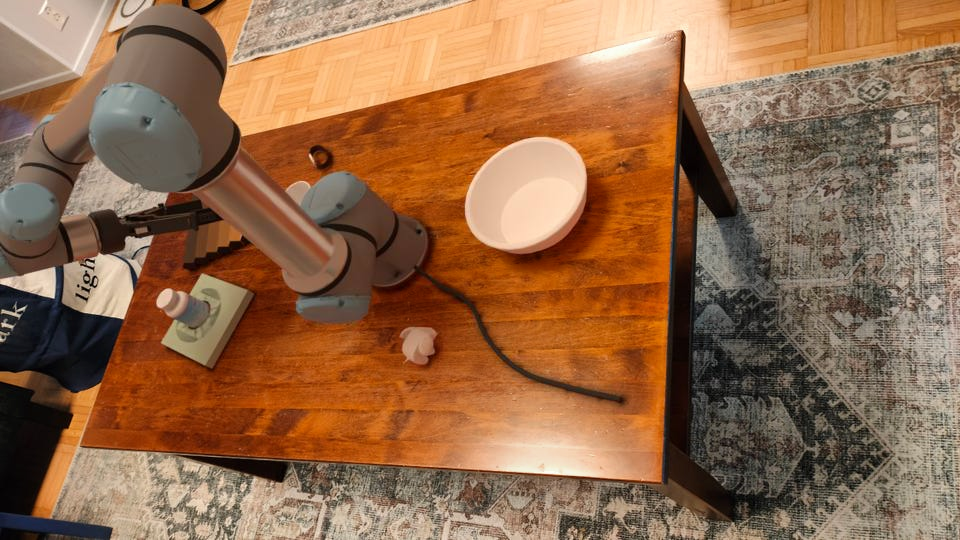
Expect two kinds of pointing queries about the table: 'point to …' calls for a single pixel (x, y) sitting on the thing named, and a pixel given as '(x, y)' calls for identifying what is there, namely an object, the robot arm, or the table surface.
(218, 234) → the pan flute
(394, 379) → the table surface
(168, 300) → the pill bottle
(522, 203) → the bowl
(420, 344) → the elephant figurine
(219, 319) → the mounting pad
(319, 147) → the watch
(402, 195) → the table surface
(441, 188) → the table surface
